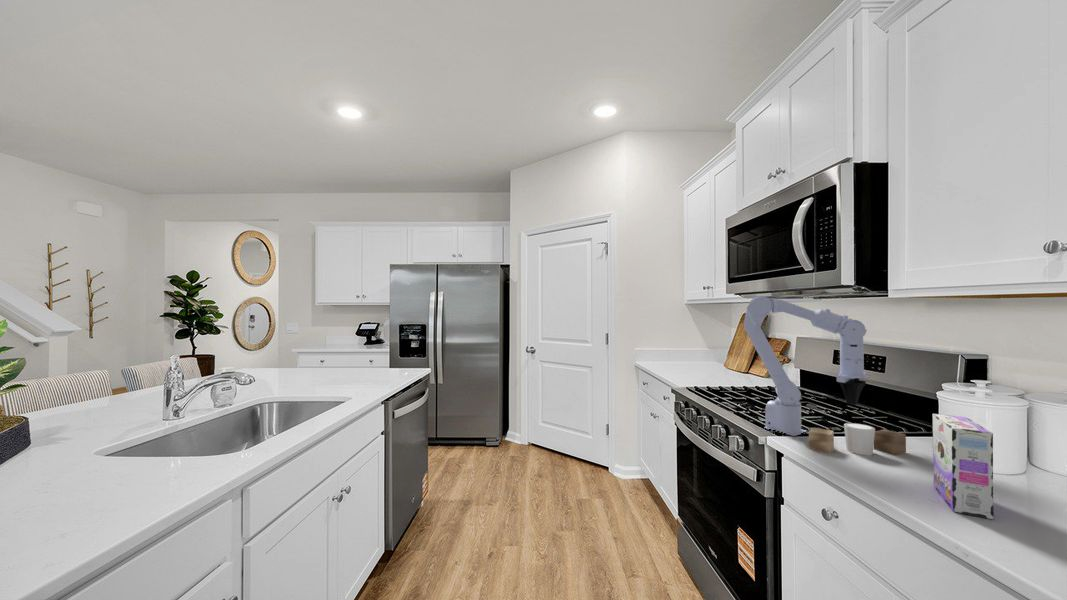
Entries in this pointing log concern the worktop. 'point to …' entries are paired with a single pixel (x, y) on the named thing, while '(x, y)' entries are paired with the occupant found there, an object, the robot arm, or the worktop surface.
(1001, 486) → the worktop surface
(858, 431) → the white cup
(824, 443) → the oak block
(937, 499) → the worktop surface
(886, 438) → the walnut block
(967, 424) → the candy box
